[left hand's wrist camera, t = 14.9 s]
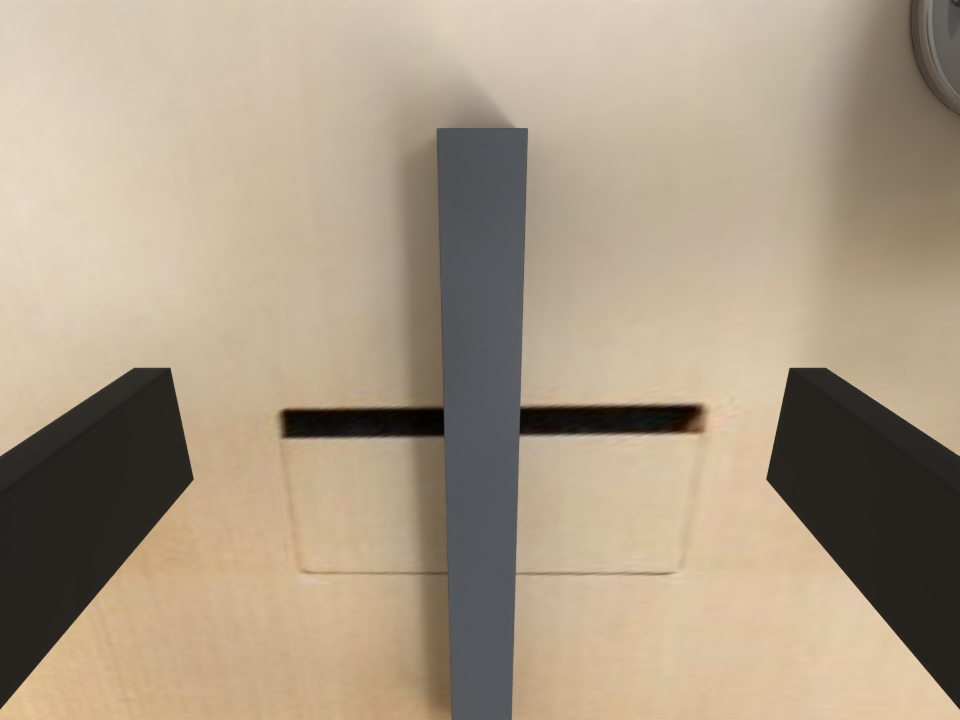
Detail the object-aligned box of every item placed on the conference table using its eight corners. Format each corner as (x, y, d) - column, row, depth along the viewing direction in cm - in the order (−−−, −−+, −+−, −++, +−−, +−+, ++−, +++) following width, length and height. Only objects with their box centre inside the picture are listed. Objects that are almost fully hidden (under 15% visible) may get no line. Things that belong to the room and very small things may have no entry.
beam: (445, 130, 36) (436, 128, 29) (518, 130, 36) (527, 128, 29) (457, 716, 55) (453, 802, 48) (505, 716, 55) (509, 802, 48)
